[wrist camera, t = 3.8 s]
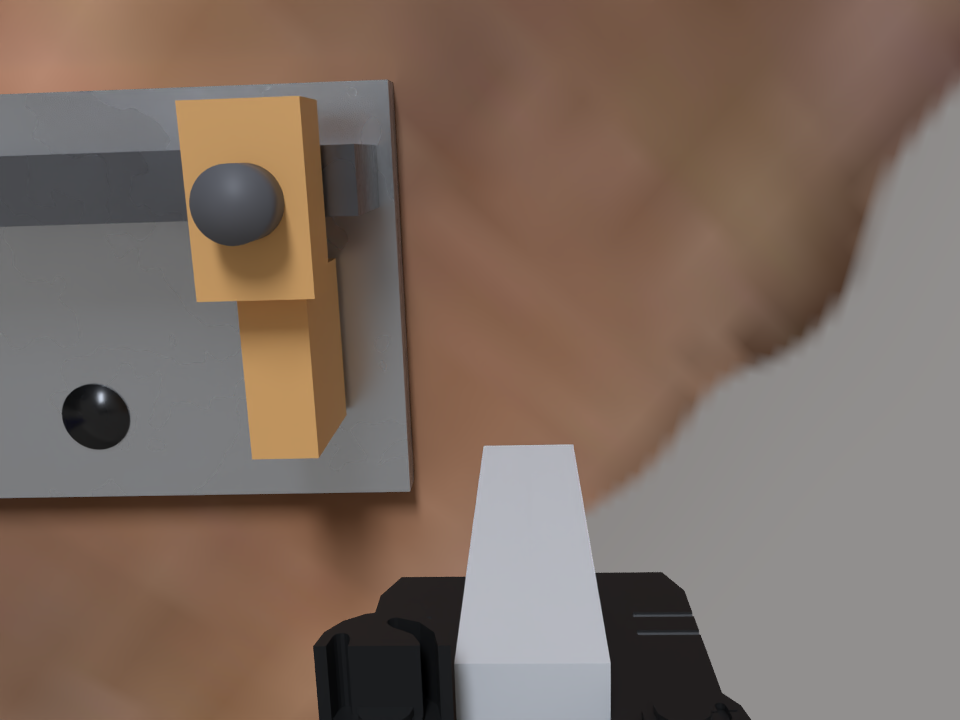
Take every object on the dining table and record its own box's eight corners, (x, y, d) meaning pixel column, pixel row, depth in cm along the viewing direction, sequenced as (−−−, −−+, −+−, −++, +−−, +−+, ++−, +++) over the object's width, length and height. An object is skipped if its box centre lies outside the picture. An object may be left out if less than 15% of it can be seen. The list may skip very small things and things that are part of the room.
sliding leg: (273, 430, 31) (200, 514, 24) (244, 110, 28) (152, 97, 21) (364, 428, 31) (318, 512, 24) (343, 106, 28) (285, 92, 21)
